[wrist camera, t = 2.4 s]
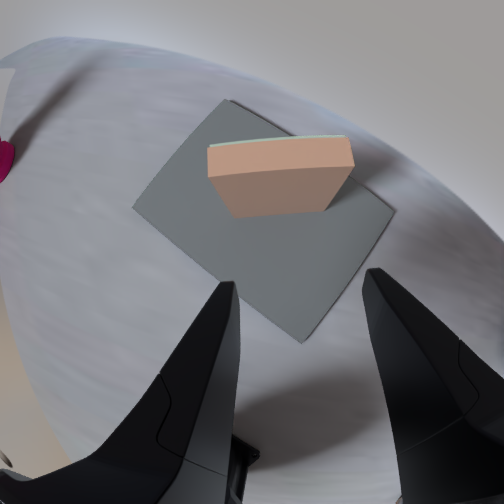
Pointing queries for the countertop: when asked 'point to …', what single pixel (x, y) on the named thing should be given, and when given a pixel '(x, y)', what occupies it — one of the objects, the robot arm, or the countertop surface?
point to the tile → (279, 173)
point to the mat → (262, 229)
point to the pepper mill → (5, 158)
